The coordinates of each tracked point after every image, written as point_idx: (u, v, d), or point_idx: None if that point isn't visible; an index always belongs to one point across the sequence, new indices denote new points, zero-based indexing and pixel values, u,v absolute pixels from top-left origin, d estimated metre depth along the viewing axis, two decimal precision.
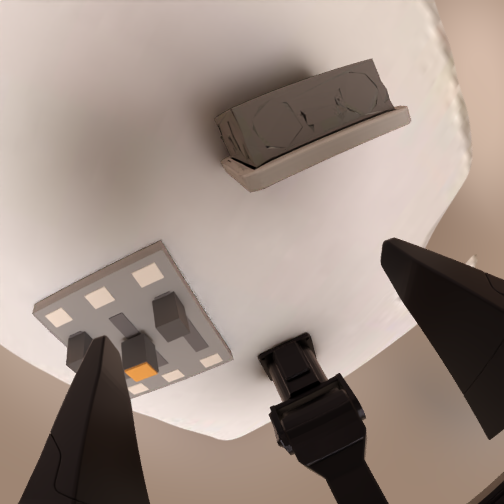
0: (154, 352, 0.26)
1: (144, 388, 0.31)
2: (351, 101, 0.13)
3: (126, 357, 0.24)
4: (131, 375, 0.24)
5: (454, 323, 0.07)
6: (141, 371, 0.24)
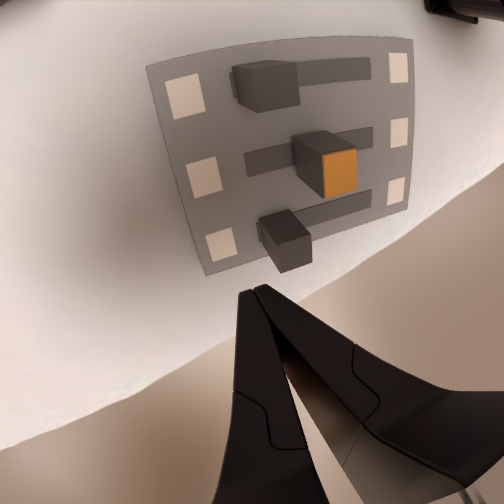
0: (330, 135, 0.16)
1: (401, 181, 0.21)
2: None
3: (311, 181, 0.16)
4: (338, 190, 0.15)
5: (313, 397, 0.07)
6: (338, 171, 0.15)
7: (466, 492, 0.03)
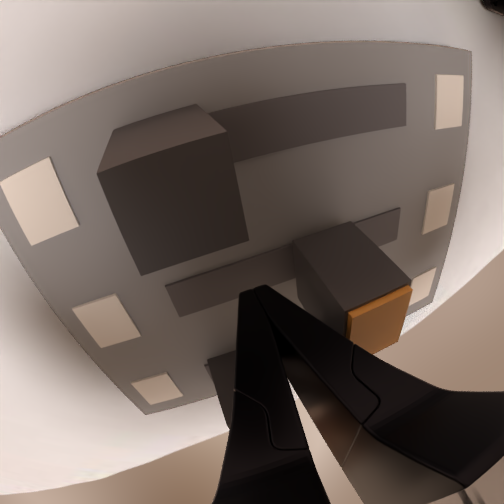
0: (361, 241, 0.09)
1: (430, 273, 0.14)
2: None
3: None
4: None
5: (313, 397, 0.07)
6: (374, 330, 0.08)
7: (466, 492, 0.03)
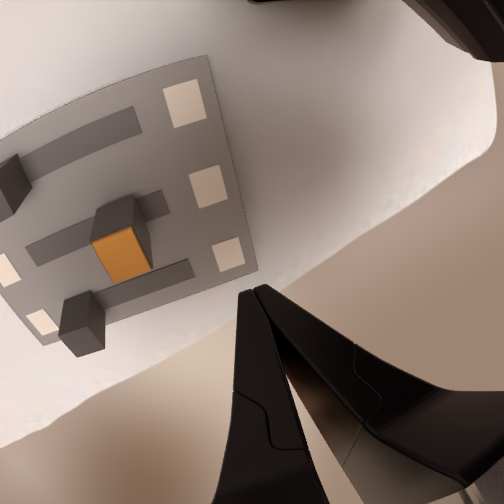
0: (127, 204, 0.14)
1: (235, 242, 0.19)
2: None
3: None
4: (126, 274, 0.13)
5: (313, 397, 0.07)
6: (117, 256, 0.12)
7: (466, 492, 0.03)
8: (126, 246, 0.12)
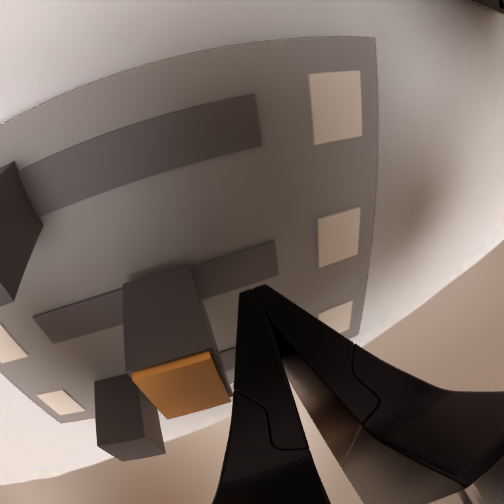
0: (185, 289, 0.08)
1: (346, 307, 0.13)
2: None
3: None
4: (190, 409, 0.07)
5: (313, 397, 0.07)
6: (177, 392, 0.07)
7: (465, 493, 0.03)
8: (197, 380, 0.07)
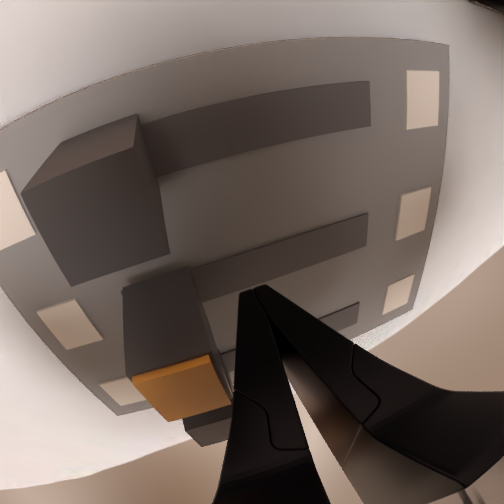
0: (184, 292, 0.08)
1: (408, 280, 0.14)
2: None
3: None
4: (190, 412, 0.07)
5: (313, 397, 0.07)
6: (178, 395, 0.07)
7: (466, 492, 0.03)
8: (197, 383, 0.07)
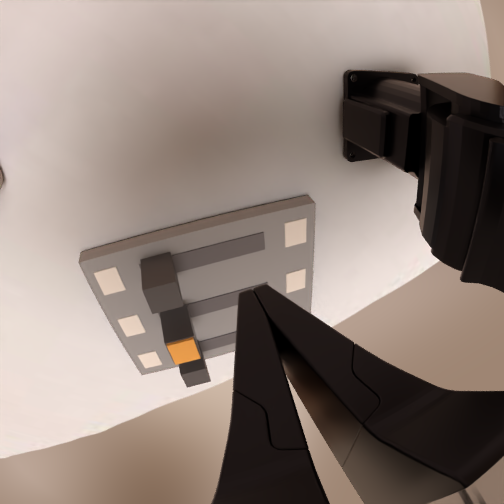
0: (185, 315, 0.21)
1: None
2: None
3: None
4: (184, 360, 0.21)
5: (313, 397, 0.07)
6: (181, 352, 0.20)
7: (466, 492, 0.03)
8: (188, 347, 0.20)
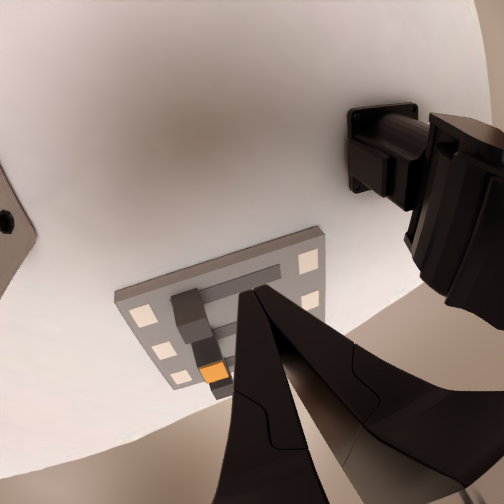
0: (213, 340, 0.24)
1: None
2: None
3: None
4: (215, 379, 0.23)
5: (313, 397, 0.07)
6: (212, 373, 0.23)
7: (466, 492, 0.03)
8: (218, 369, 0.23)
